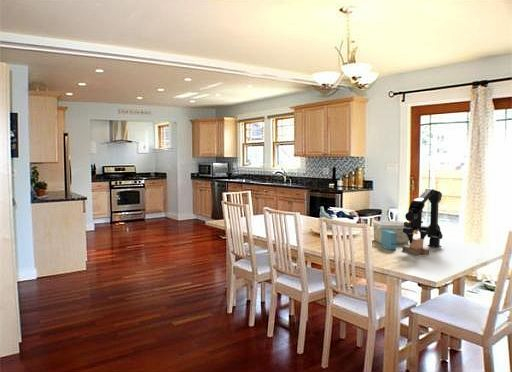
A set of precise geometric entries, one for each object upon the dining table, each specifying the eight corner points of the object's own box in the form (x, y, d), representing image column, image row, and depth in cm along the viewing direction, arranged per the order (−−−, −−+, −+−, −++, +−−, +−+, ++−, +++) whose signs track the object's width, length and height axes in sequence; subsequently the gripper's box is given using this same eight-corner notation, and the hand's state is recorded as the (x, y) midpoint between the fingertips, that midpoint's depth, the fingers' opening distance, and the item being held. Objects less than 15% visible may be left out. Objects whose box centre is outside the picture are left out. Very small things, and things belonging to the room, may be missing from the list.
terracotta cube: (416, 246, 270) (416, 237, 270) (423, 248, 265) (423, 239, 264) (409, 246, 268) (409, 238, 268) (416, 248, 263) (416, 239, 262)
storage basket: (401, 239, 309) (402, 220, 308) (411, 244, 293) (412, 224, 292) (371, 239, 307) (372, 220, 306) (380, 244, 291) (380, 224, 289)
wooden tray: (414, 250, 275) (414, 244, 275) (429, 255, 262) (429, 249, 262) (402, 251, 272) (402, 245, 272) (416, 256, 259) (416, 250, 259)
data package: (396, 249, 274) (397, 232, 273) (390, 250, 273) (391, 233, 272) (386, 246, 286) (387, 229, 285) (381, 246, 285) (381, 229, 284)
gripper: (418, 216, 276) (417, 239, 277) (397, 218, 269) (396, 241, 270) (431, 219, 266) (430, 242, 267) (409, 220, 259) (408, 244, 260)
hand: (416, 242), depth 266 cm, fingers open, 9 cm apart
